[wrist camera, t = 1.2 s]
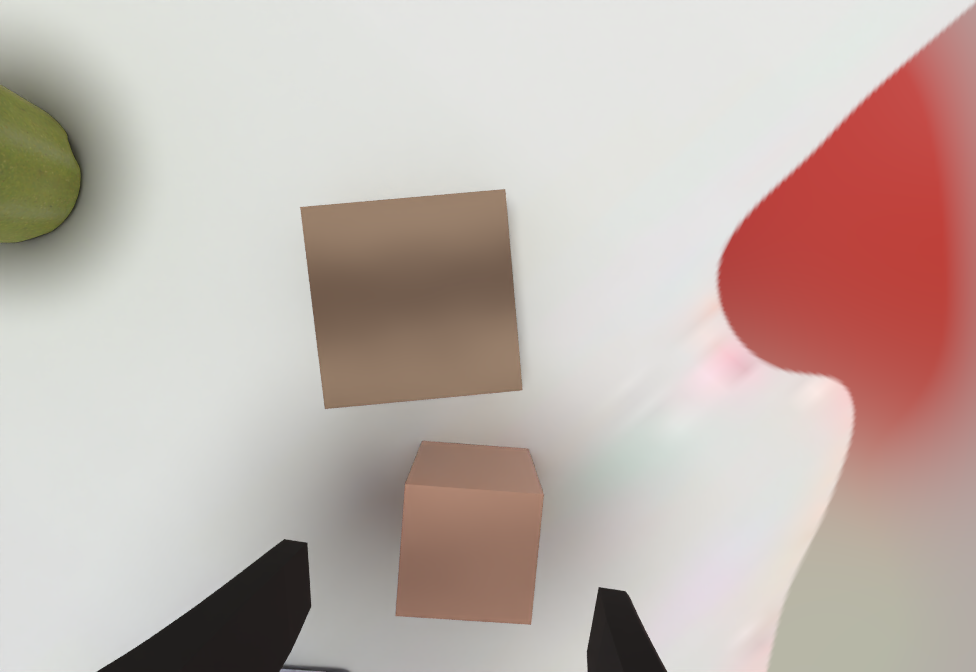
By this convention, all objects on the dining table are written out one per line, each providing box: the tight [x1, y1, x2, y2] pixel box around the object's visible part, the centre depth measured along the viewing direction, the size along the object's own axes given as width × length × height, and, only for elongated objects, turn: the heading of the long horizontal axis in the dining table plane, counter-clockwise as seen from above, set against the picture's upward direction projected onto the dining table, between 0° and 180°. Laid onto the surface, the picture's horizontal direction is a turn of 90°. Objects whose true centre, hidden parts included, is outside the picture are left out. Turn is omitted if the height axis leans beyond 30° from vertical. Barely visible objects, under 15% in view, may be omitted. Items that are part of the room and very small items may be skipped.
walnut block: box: [300, 189, 522, 409], centre depth 19 cm, size 8×8×3 cm
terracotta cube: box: [396, 441, 544, 625], centre depth 19 cm, size 5×5×5 cm
